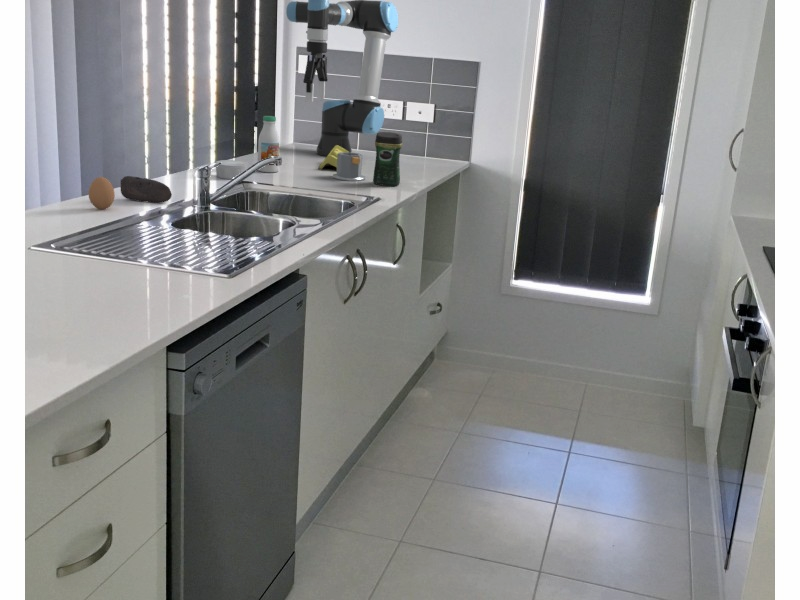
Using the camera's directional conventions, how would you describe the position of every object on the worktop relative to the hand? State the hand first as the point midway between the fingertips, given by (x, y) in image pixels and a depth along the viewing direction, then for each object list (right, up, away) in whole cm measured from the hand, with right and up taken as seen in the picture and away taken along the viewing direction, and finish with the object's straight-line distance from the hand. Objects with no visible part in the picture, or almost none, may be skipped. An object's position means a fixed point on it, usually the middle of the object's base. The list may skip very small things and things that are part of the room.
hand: (315, 100), depth 319 cm
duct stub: (+13, -30, -6) cm, 33 cm away
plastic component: (+7, -23, +17) cm, 29 cm away
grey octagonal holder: (+14, -30, -7) cm, 33 cm away
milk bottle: (-17, -27, -4) cm, 33 cm away
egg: (-51, -50, -84) cm, 110 cm away
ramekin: (-27, -32, -22) cm, 48 cm away
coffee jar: (+27, -33, -12) cm, 45 cm away
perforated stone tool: (-42, -46, -70) cm, 94 cm away
